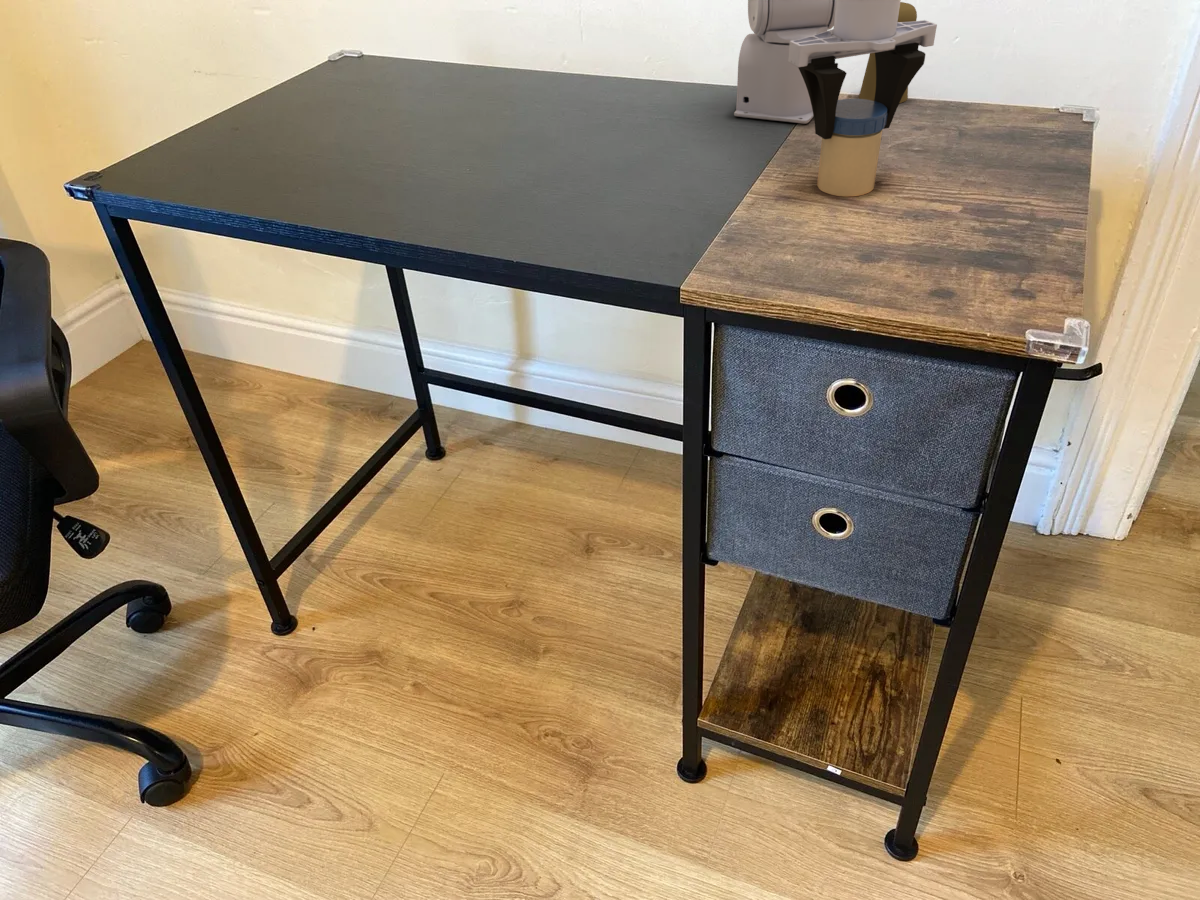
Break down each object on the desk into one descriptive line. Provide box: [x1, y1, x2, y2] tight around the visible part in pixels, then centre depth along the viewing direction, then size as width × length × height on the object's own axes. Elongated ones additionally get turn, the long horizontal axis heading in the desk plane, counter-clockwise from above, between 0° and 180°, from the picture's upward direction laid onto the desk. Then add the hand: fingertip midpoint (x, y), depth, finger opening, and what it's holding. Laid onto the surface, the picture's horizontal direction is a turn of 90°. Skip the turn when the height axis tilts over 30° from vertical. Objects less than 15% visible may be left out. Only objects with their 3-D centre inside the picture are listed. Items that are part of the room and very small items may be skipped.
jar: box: [816, 129, 884, 198], centre depth 89 cm, size 6×6×7 cm
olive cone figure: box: [858, 1, 918, 104], centre depth 109 cm, size 6×6×11 cm
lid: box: [833, 98, 887, 135], centre depth 87 cm, size 6×6×2 cm
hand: (852, 130), depth 88 cm, fingers closed on lid, 6 cm apart
